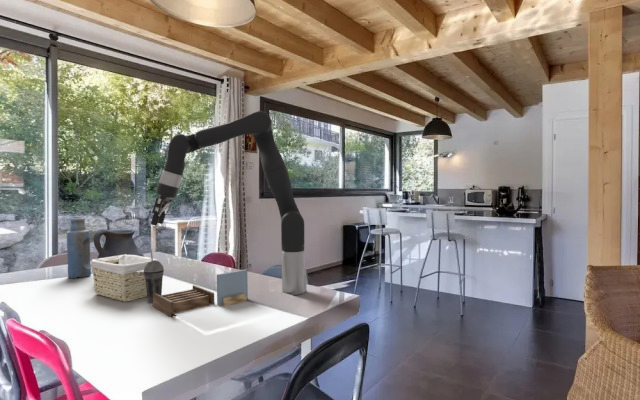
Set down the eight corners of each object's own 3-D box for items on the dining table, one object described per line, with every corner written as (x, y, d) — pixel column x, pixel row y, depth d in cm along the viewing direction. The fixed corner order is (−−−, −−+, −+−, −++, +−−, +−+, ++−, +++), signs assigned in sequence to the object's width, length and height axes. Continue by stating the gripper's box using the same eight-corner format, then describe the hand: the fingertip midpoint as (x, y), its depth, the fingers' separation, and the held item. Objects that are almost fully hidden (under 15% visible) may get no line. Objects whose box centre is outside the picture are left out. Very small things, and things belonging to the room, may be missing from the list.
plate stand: (239, 300, 143) (239, 291, 143) (247, 303, 140) (247, 293, 139) (218, 305, 137) (218, 296, 137) (225, 308, 133) (225, 298, 133)
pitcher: (153, 277, 183) (152, 226, 182) (108, 287, 164) (106, 231, 164) (129, 273, 194) (128, 225, 193) (84, 282, 175) (83, 228, 175)
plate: (246, 298, 143) (245, 269, 143) (247, 298, 142) (247, 269, 142) (217, 304, 135) (216, 274, 134) (218, 305, 134) (218, 275, 133)
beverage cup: (168, 299, 146) (167, 248, 145) (155, 304, 139) (153, 250, 139) (153, 297, 148) (152, 247, 148) (139, 302, 141) (138, 250, 141)
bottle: (83, 278, 183) (81, 217, 182) (63, 278, 183) (61, 217, 182) (95, 274, 192) (93, 215, 191) (76, 274, 192) (74, 216, 192)
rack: (195, 297, 148) (194, 285, 147) (214, 306, 136) (214, 292, 136) (153, 306, 136) (152, 293, 136) (170, 317, 125) (170, 302, 125)
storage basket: (161, 294, 154) (160, 258, 153) (123, 304, 140) (122, 265, 140) (128, 286, 167) (127, 253, 166) (89, 295, 153) (88, 259, 152)
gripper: (174, 186, 140) (161, 228, 139) (182, 187, 154) (170, 225, 153) (154, 180, 139) (141, 222, 138) (164, 181, 153) (152, 220, 152)
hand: (156, 224), depth 146 cm, fingers open, 8 cm apart
